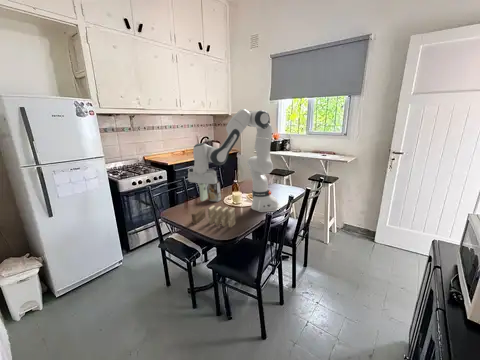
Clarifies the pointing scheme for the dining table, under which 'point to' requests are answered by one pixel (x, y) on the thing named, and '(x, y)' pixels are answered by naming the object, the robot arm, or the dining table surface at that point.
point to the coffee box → (214, 192)
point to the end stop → (198, 215)
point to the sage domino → (203, 192)
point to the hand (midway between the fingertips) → (203, 189)
